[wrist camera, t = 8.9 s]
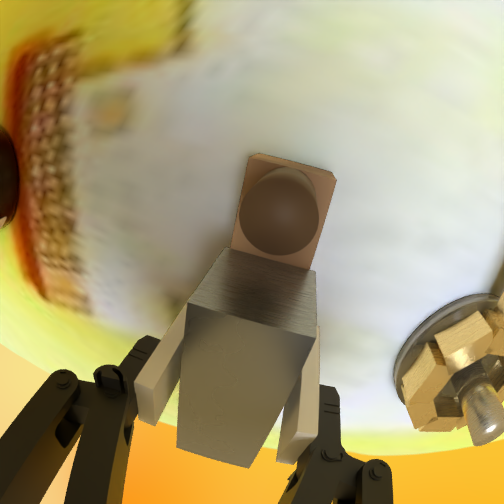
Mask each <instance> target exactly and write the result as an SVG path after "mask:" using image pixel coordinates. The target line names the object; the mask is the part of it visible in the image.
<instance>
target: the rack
mask: <svg viewBox="0 0 504 504" xmlns="http://www.w3.org/2000/svg"><path fill="white" fill-rule="evenodd" d="M336 181H337V180H336V178H335V177H334V175H333V174H332V172H329V171H326V170H322V169H319V168H315V167H312V166H308V165H304V164H301V163H297V162H293V161H289V160H285V159H281V158H277V157H273V156H269V155H265V154H260V153H258V154H256V155H253V156H251V157H249V159H248V164H247V169H246V173H245V178H244V183H243V187H242V192H241V197H240V202H239V206H238V211H237V216H236V221H235V226H234V231H233V236H232V241H231V246H230V248H231V249H234V250H238V251H242V252H246V253H249V254H253V255H257V256H260V257H264V258H268V259H271V260H275V261H279V262H282V263H286V264H290V265H294V266H297V267H301V268H305V269H308V270H309V269H310V266H311V263H312V260H313V257H314V254H315V251H316V248H317V244H318V241H319V238H320V235H321V232H322V228H323V225H324V222H325V219H326V215H327V212H328V209H329V205H330V202H331V198H332V195H333V192H334V188H335V185H336Z"/></svg>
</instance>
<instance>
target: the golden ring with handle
mask: <svg viewBox="0 0 504 504" xmlns="http://www.w3.org/2000/svg"><path fill="white" fill-rule="evenodd" d="M434 337H435V340H436V343H431V342H426V344H425V345H424V347H423V348H422V350H421V351H420V353H419V355H418V356H417V358H416V359H415V361H414V362H413V364H412V365H411V366H410V368H409V369H408V371H407V372H406V374H405V375H404V376H403V378H402V380H403V384H401V387H402V392H403V396H404V400H405V404H406V408H407V411H408V413H409V416H410V418H411V421H412V423H413V426H414V428H415V429H417V428H419V431H425V432H450V431H452V430H453V429H454V428H455V427H457V429H460V428H462V427H464V426H466V425H467V423H466V420H465V417H464V414H463V411H462V408H461V405H460V403H459V400H458V397H457V396H455V397H443V396H437V394H438V393H439V392H440V391H441V390H442V388H443V387H444V386H445V385H446V383H447V382H448V381H449V379H450V378H451V377H452V375H453V374H454V373H455V372H457V371H459V370H461V369H463V368H465V367H466V366H468V365H470V364H472V363H474V362H475V361H477V360H479V359H480V358H482V357H484V356H486V355H487V354H493V355H498V360H497V362H496V363H495V365H494V366H493V367H492V369H491V370H490V371H489V373H488V374H487V375H488V377H489V379H490V381H491V383H492V385H493V387H494V389H495V391H496V393H497V395H498V397H499V399H500V401H501V403H502V402H503V401H504V292H503V293H502V295H501V297H500V299H499V301H498V303H497V305H496V307H495V308H494V310H493V311H491V310H488V309H485V311H484V313H483V314H482V315H481V314H480V312H479V311H476V312H475V313H473V314H471V315H470V316H468V317H466V318H464V319H463V320H461V321H459V322H457V323H456V324H454V325H452V326H450V327H448V328H446V329H445V330H443V331H441V332H439V333H437V334H435V335H434Z"/></svg>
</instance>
